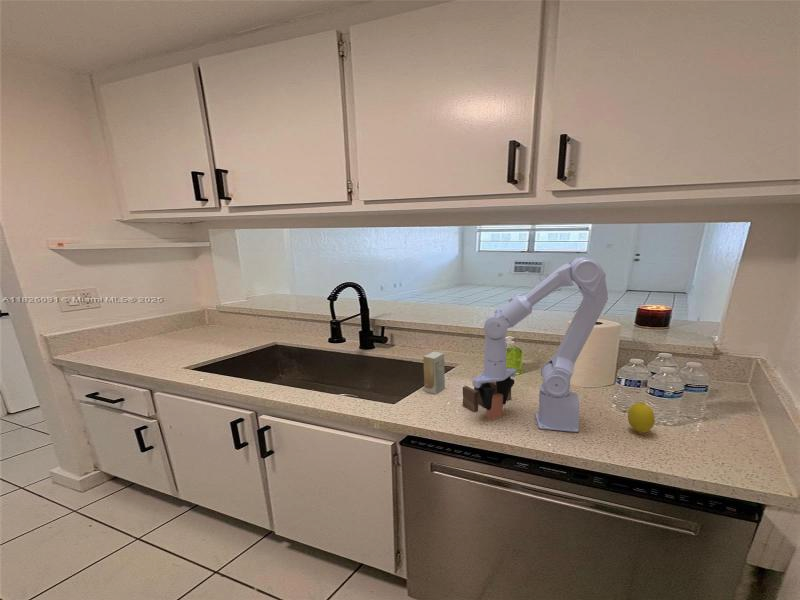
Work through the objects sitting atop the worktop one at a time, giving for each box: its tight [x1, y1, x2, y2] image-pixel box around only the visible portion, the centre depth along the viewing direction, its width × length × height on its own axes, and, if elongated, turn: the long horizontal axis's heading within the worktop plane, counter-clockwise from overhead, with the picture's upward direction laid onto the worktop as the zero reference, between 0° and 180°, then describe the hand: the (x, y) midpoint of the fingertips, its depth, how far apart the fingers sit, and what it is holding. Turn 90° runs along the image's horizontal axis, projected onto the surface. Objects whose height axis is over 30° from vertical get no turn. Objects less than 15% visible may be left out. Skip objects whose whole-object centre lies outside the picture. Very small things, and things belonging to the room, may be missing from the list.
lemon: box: [627, 401, 656, 434], centre depth 90 cm, size 6×6×8 cm
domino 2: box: [473, 386, 484, 408], centre depth 108 cm, size 1×5×6 cm, turn 31°
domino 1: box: [462, 385, 479, 413], centre depth 106 cm, size 1×5×6 cm, turn 31°
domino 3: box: [490, 382, 497, 395], centre depth 110 cm, size 1×5×6 cm, turn 31°
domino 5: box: [506, 388, 512, 402], centre depth 112 cm, size 1×5×6 cm, turn 31°
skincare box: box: [423, 351, 446, 395], centre depth 119 cm, size 6×4×12 cm
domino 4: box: [485, 393, 504, 421], centre depth 100 cm, size 1×5×6 cm, turn 121°
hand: (494, 405), depth 100 cm, fingers closed on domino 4, 5 cm apart
